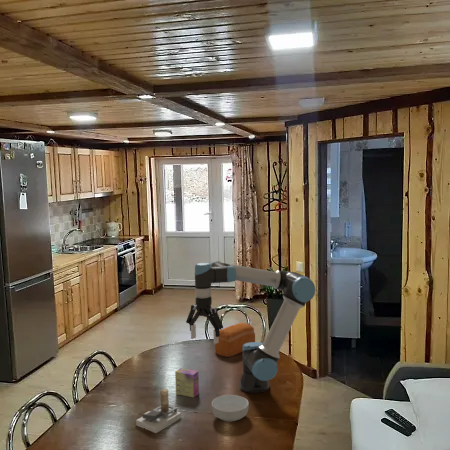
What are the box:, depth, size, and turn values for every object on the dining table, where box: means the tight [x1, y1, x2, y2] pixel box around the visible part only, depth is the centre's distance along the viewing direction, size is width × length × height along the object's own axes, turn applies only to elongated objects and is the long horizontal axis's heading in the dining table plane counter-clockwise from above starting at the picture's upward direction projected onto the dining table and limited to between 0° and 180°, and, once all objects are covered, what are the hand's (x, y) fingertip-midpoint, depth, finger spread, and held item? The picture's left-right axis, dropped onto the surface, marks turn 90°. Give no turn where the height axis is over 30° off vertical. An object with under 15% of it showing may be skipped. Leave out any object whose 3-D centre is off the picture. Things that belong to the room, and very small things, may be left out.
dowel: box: [159, 388, 170, 416], centre depth 218 cm, size 4×4×11 cm
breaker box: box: [136, 404, 182, 434], centre depth 215 cm, size 12×16×4 cm
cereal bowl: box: [211, 394, 250, 422], centre depth 217 cm, size 17×17×7 cm
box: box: [174, 367, 200, 398], centre depth 242 cm, size 10×6×12 cm, turn 65°
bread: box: [214, 322, 256, 358], centre depth 304 cm, size 14×26×16 cm, turn 136°
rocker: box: [141, 410, 163, 420], centre depth 212 cm, size 8×4×2 cm, turn 54°
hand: (204, 340), depth 227 cm, fingers open, 13 cm apart
